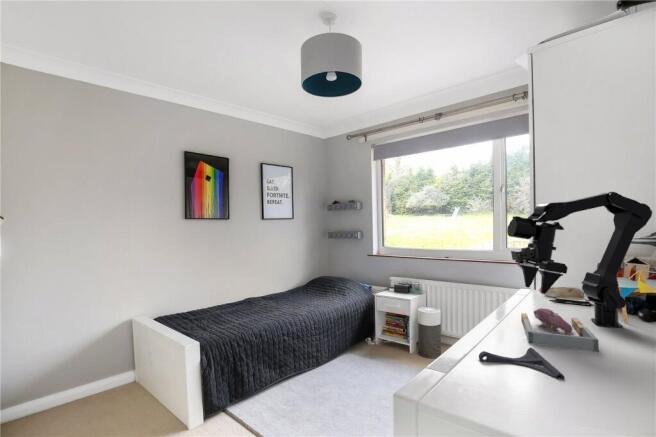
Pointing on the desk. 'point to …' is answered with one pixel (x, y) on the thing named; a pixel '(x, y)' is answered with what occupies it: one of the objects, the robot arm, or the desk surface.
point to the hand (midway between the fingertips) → (534, 290)
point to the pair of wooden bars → (575, 323)
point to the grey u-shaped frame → (563, 339)
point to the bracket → (525, 362)
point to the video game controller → (552, 320)
